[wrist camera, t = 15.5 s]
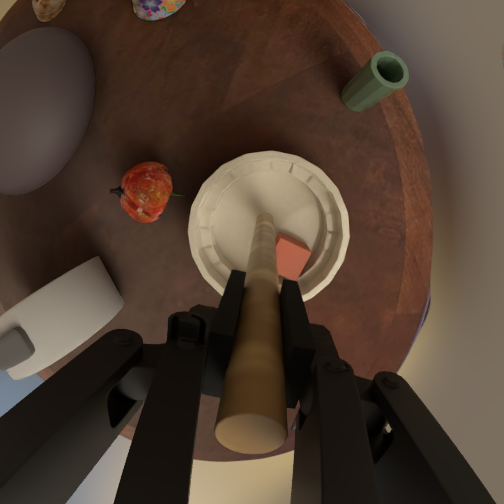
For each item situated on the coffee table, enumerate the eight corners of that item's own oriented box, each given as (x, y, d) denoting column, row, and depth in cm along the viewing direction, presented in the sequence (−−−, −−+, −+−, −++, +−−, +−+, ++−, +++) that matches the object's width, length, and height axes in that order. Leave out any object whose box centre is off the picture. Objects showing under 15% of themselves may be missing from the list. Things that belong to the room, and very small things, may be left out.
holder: (371, 88, 33) (409, 59, 21) (367, 115, 34) (407, 93, 22) (343, 80, 33) (372, 45, 21) (339, 107, 34) (369, 80, 22)
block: (307, 244, 38) (311, 252, 34) (293, 271, 39) (296, 282, 35) (278, 231, 37) (280, 237, 34) (265, 258, 38) (265, 268, 35)
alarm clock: (56, 331, 44) (-10, 391, 25) (36, 296, 43) (-38, 345, 23) (140, 291, 41) (66, 367, 22) (115, 246, 40) (23, 297, 20)
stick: (273, 211, 35) (289, 413, 7) (273, 228, 36) (285, 455, 7) (256, 212, 35) (210, 411, 7) (256, 228, 36) (217, 453, 7)
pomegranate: (185, 163, 39) (115, 148, 32) (205, 179, 33) (122, 161, 27) (169, 213, 41) (101, 203, 35) (185, 236, 36) (106, 227, 30)
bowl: (349, 172, 36) (364, 171, 30) (318, 300, 40) (326, 320, 34) (212, 144, 36) (202, 139, 30) (191, 276, 40) (179, 293, 34)
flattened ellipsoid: (54, 223, 39) (-13, 244, 25) (-9, 135, 36) (-66, 134, 21) (150, 92, 34) (95, 57, 20) (66, 22, 31) (14, -8, 16)
